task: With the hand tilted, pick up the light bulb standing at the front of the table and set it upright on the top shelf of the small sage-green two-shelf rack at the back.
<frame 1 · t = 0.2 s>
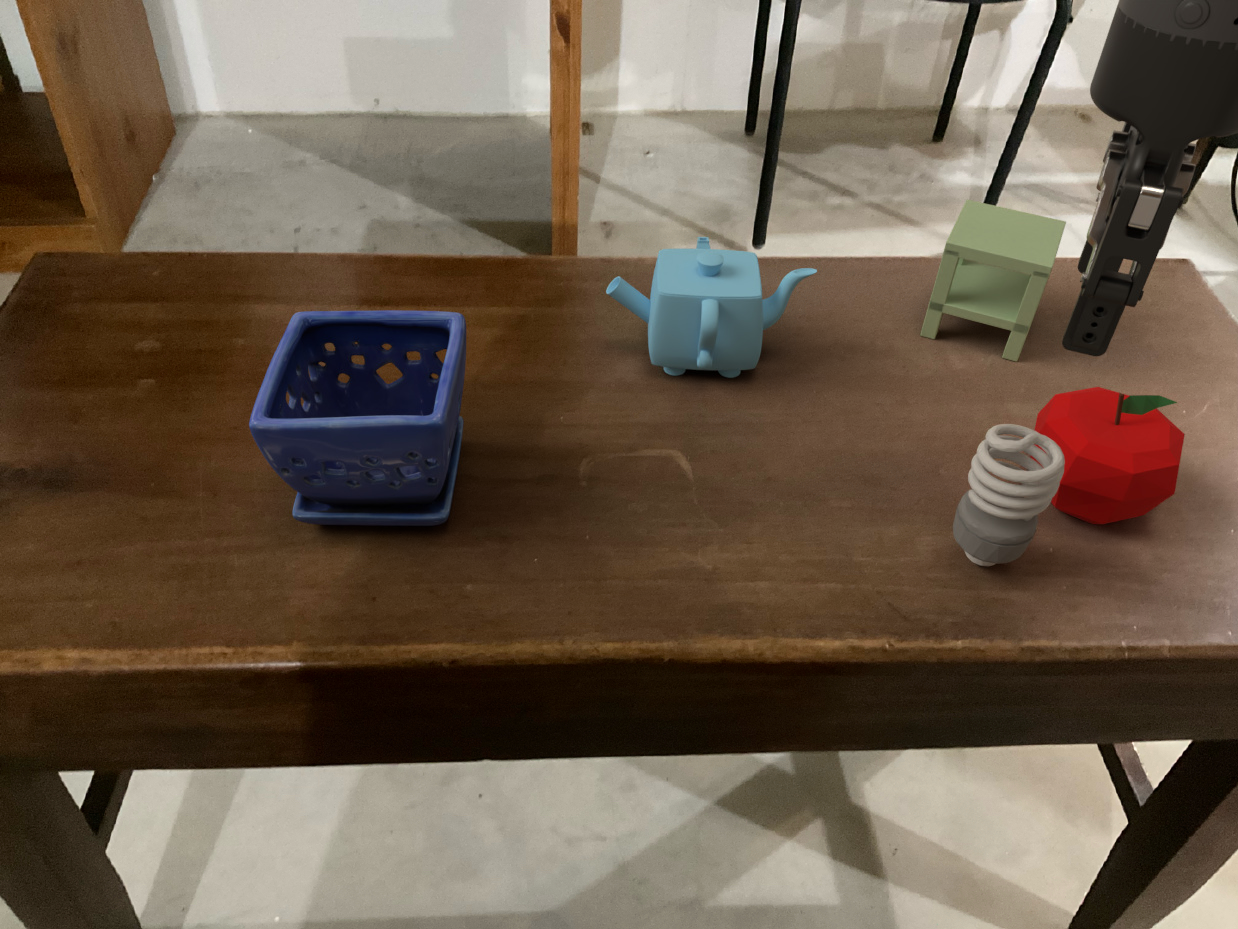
hand: (1088, 309, 54), 22 cm above the table, tool pointing down, fingers open, 8 cm apart
light bulb: (977, 563, 70), on the table
flower pot: (388, 485, 75), on the table
shelf rack: (976, 324, 92), on the table
teapot: (702, 350, 89), on the table
apple: (1081, 495, 75), on the table
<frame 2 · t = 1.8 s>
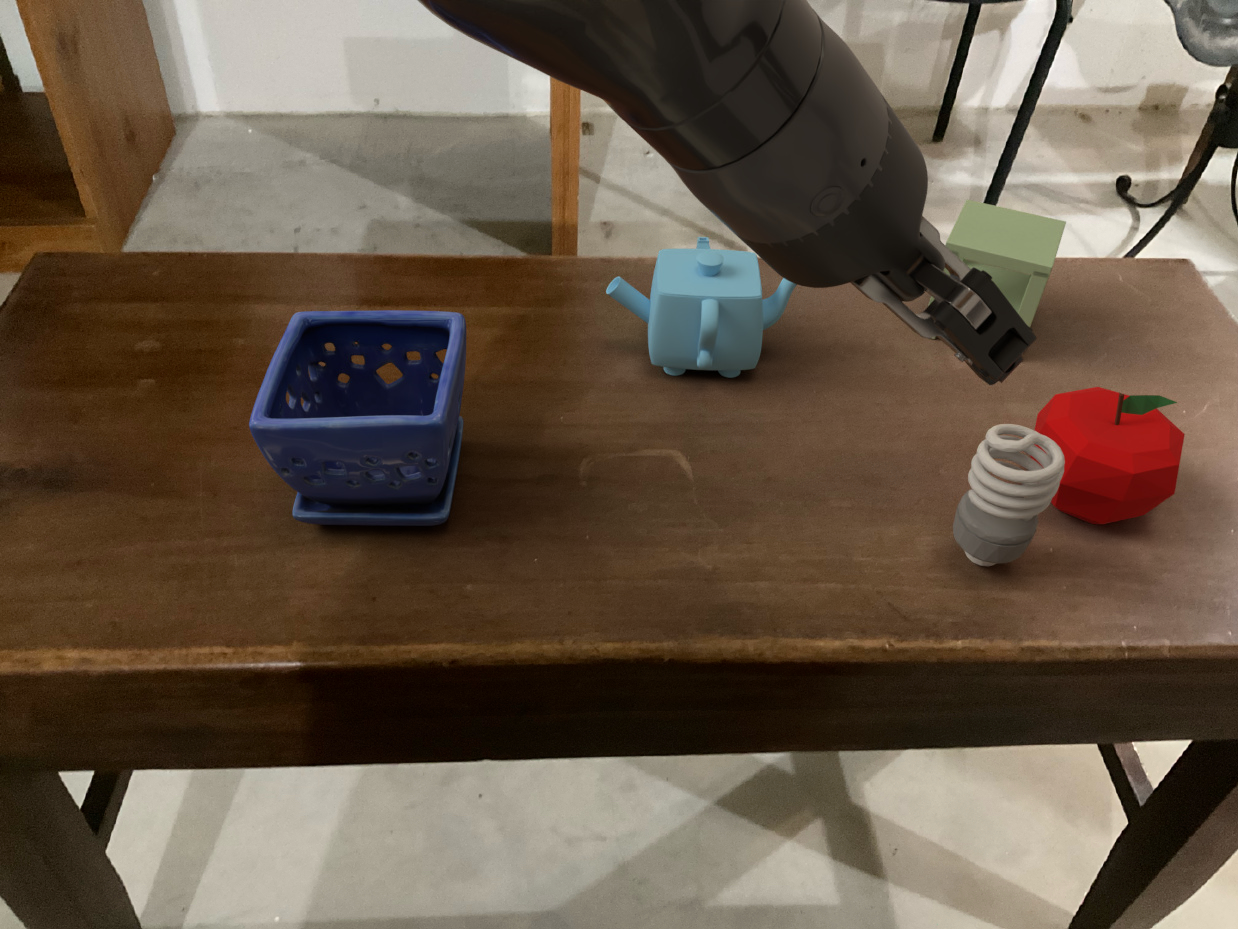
hand: (941, 322, 49), 24 cm above the table, tool tilted 45°, fingers open, 8 cm apart
nothing on the table moved.
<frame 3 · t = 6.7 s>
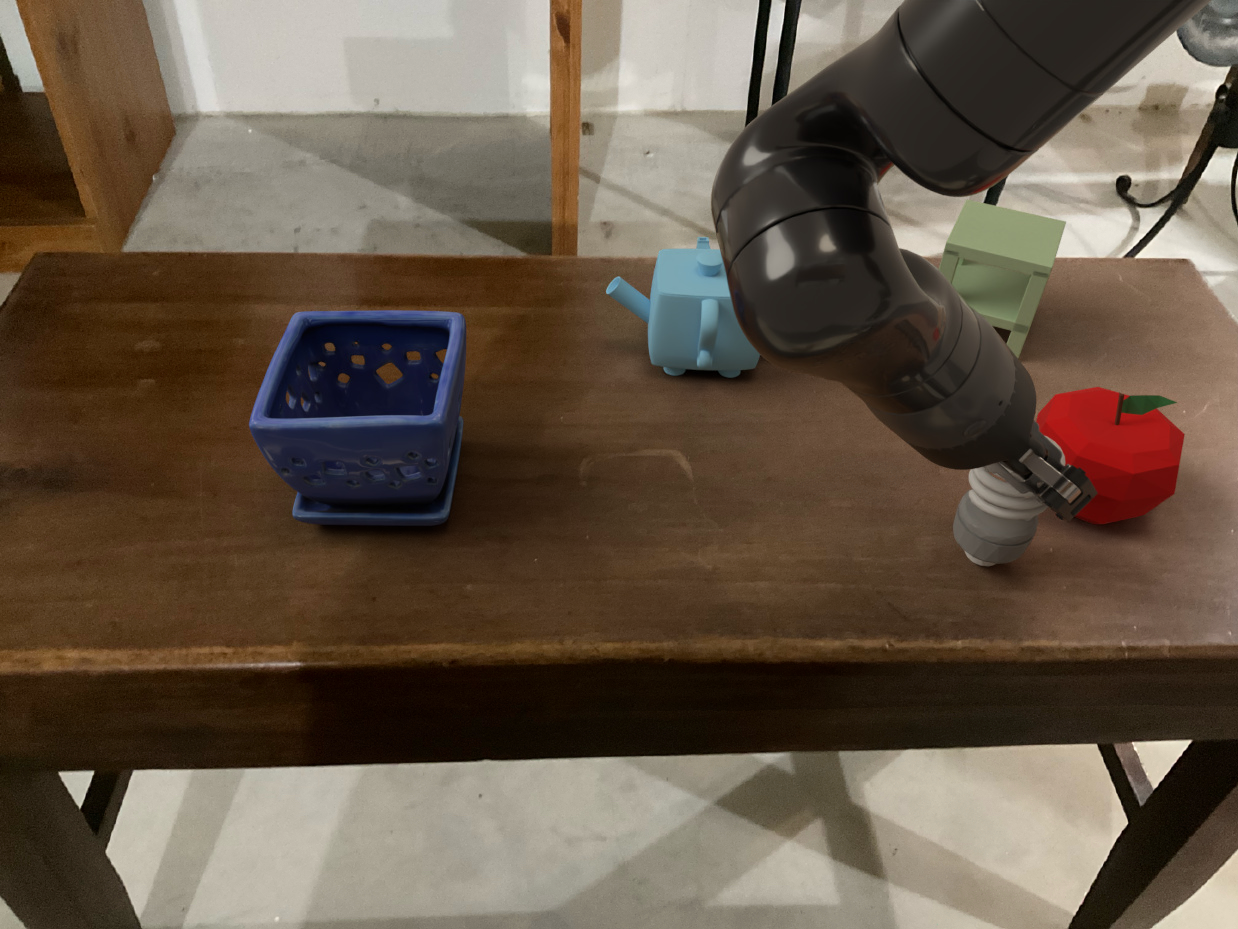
hand: (1031, 471, 65), 8 cm above the table, tool tilted 45°, fingers closed on light bulb, 5 cm apart
light bulb: (977, 563, 70), on the table, touching gripper
everything else where it was.
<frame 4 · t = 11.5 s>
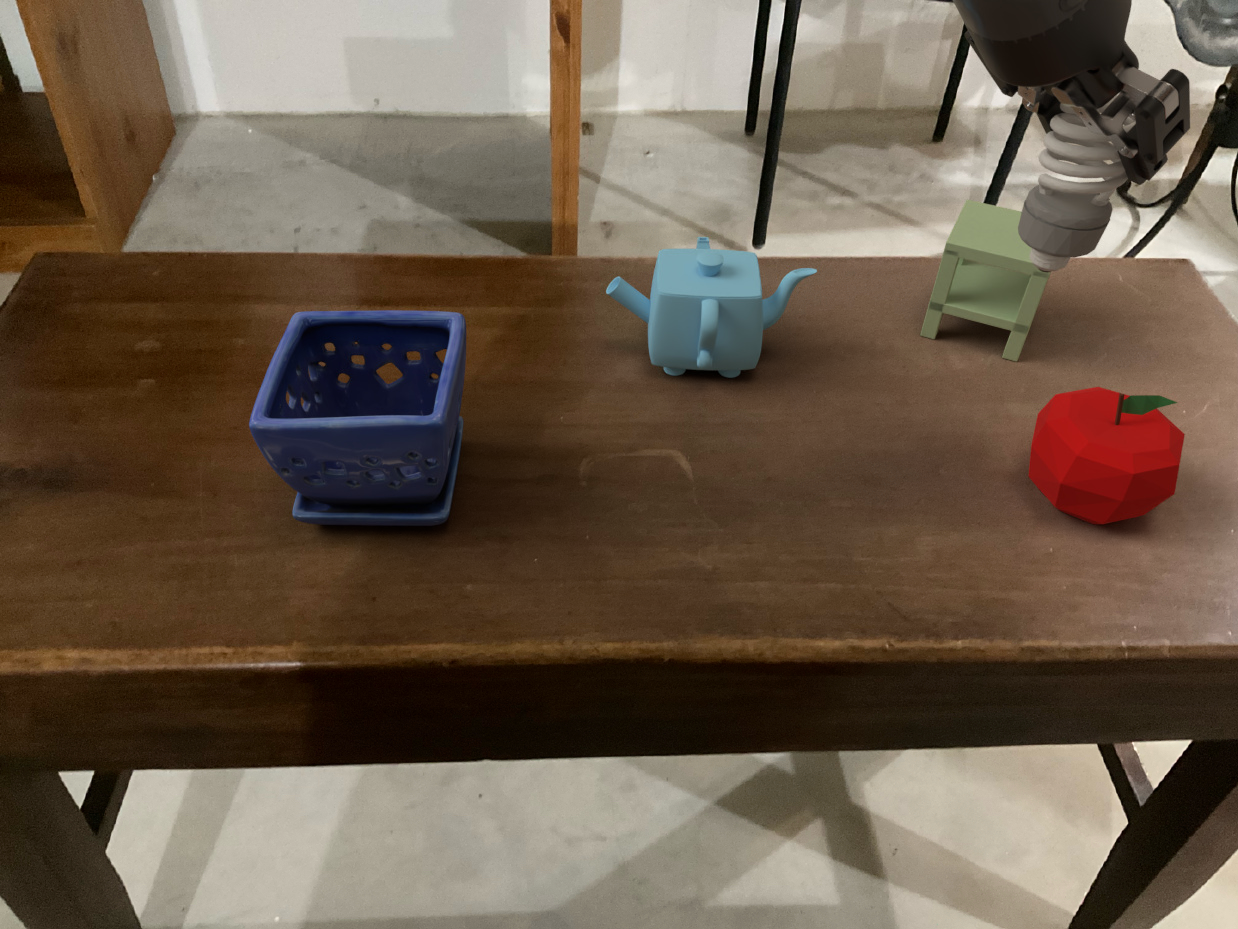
hand: (1105, 150, 61), 26 cm above the table, tool tilted 45°, fingers closed on light bulb, 5 cm apart
light bulb: (1043, 273, 66), point 18 cm above the table, touching gripper
everything else where it was.
when the fingers open (18 cm above the table, at t = 16.7 s): light bulb stays where it is, resting on shelf rack.
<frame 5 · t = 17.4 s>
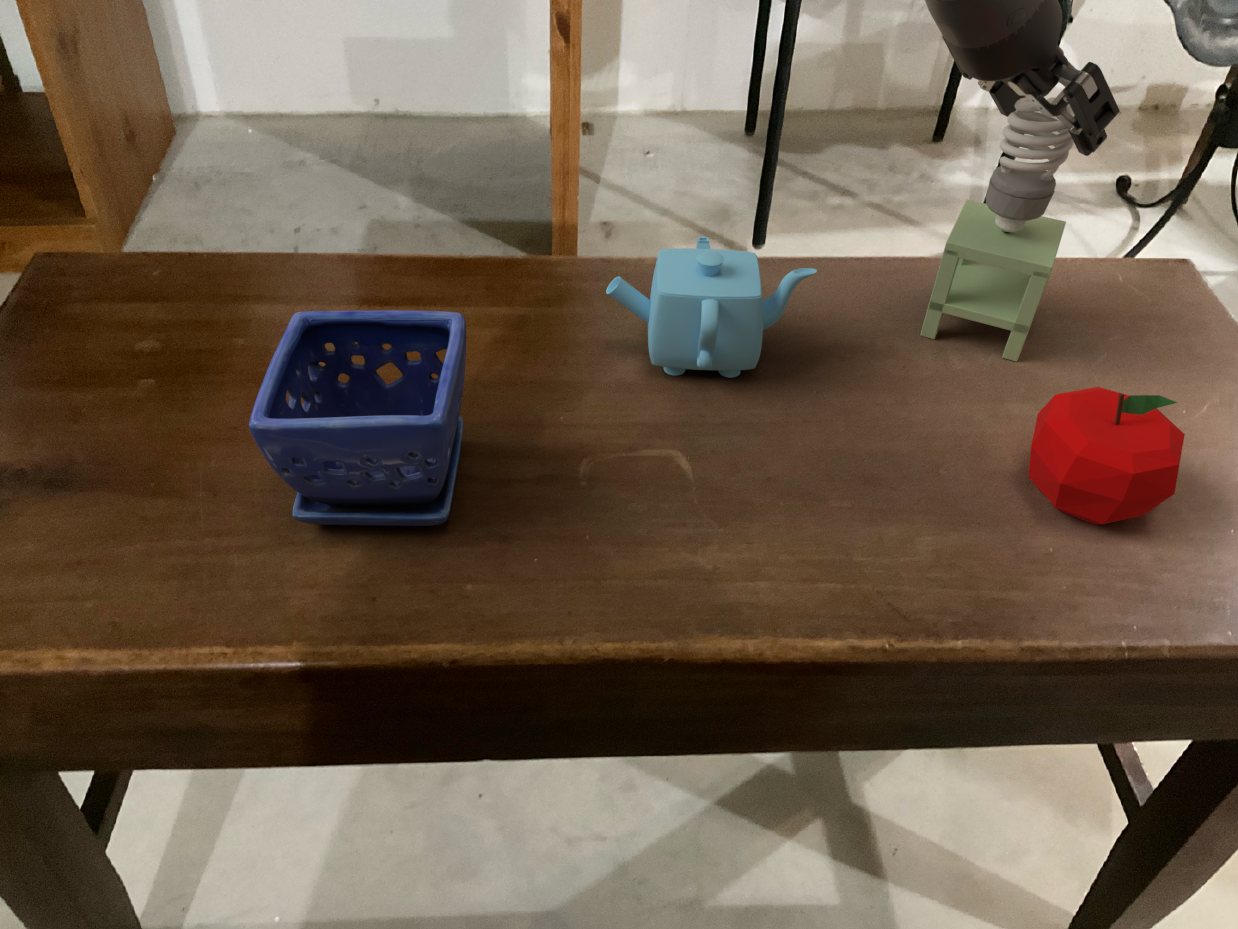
hand: (1052, 125, 79), 19 cm above the table, tool tilted 45°, fingers open, 8 cm apart
light bulb: (1005, 234, 85), point 10 cm above the table, touching shelf rack
everything else where it was.
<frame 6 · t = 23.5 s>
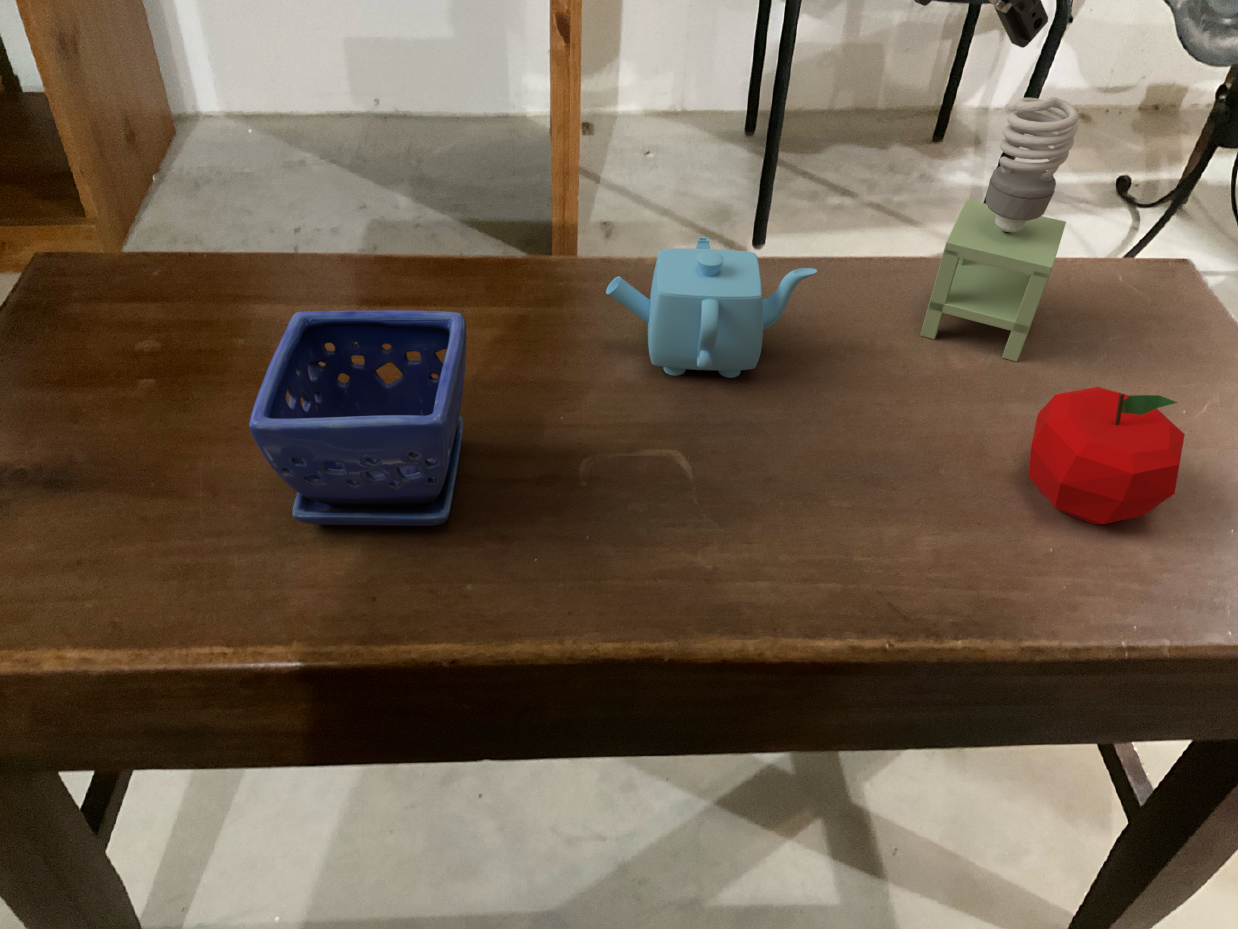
hand: (979, 12, 60), 33 cm above the table, tool tilted 45°, fingers open, 8 cm apart
nothing on the table moved.
at the end: light bulb 0.2 cm off-centre on the shelf rack, point 9.8 cm above the shelf rack's base; light bulb tilted 0° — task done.
